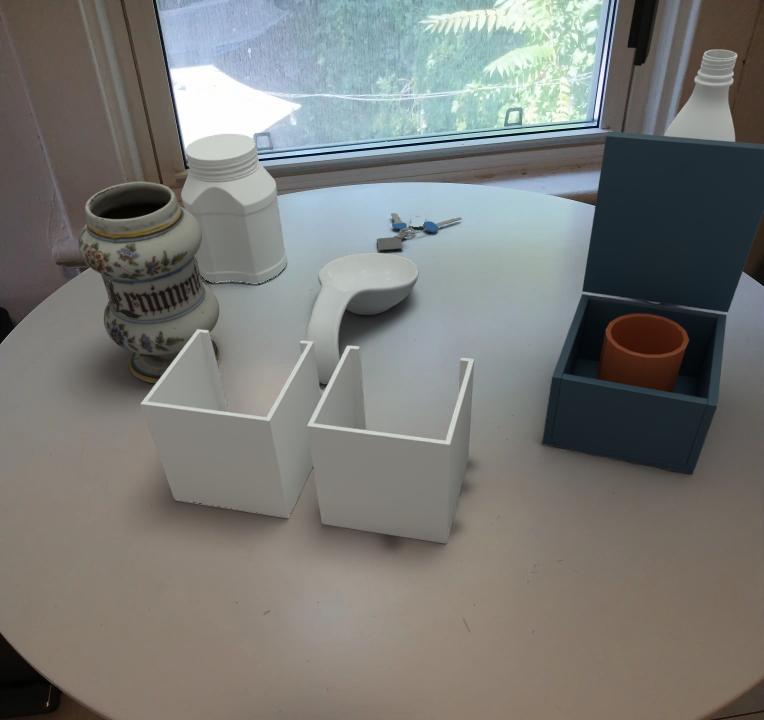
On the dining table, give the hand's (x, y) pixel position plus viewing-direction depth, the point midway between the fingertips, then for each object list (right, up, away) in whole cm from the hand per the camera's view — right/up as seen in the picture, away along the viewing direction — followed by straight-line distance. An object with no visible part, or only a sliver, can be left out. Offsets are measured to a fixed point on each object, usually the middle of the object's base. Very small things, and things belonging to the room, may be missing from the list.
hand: (713, 64), depth 50 cm
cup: (+1, -20, +21) cm, 30 cm away
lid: (+3, -6, +14) cm, 16 cm away
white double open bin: (-28, -28, +17) cm, 43 cm away
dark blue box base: (+1, -21, +22) cm, 30 cm away
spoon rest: (-26, -10, +35) cm, 44 cm away
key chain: (-19, +8, +51) cm, 55 cm away
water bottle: (+10, -5, +37) cm, 39 cm away
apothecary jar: (-46, -14, +32) cm, 58 cm away
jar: (-41, +1, +46) cm, 62 cm away
